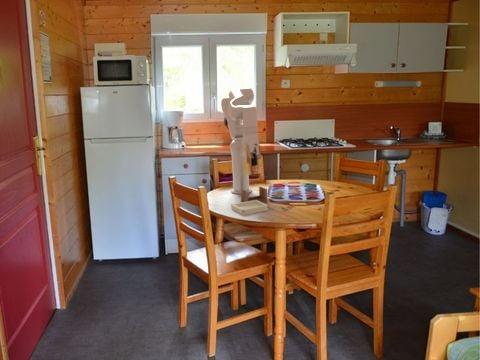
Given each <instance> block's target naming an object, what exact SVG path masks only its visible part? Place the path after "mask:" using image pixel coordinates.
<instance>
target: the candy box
mask: <svg viewBox="0 0 480 360" xmlns="http://www.w3.org/2000/svg"><path fill="white" fill-rule="evenodd" d="M242 147H243V162H244V174H245V175H249V176H250V175H257V174H262V173H263V172H262V171H263V169H262V168H263V167H262V156H261V155H262V154H261V153H262V151H261V144H259V154H258V156H257V165H255V166H252V165H251V158H252V155H251V153H249V152H248V146H242ZM253 152H255V151H253ZM253 155H254V153H253Z"/></svg>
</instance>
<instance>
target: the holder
mask: <svg viewBox="0 0 480 360" xmlns="http://www.w3.org/2000/svg"><path fill="white" fill-rule="evenodd" d="M258 191H259V192H258V194H259V195H254V196H250V197H249V193H248V192H246V191H244V190H241V194H240V203H241V202H247V201H252V200H258V201H260V202H262V203H266V202H268V188H265V187H262V186H259V187H258Z"/></svg>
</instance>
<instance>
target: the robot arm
mask: <svg viewBox="0 0 480 360" xmlns="http://www.w3.org/2000/svg"><path fill="white" fill-rule="evenodd" d="M254 99H255V93H254V91H253V89H252V88H251V87H236V88H235V87H234V88H232V89H230V91H229V92H228V96H224V97H222V99H221V101H220V104H221V106H220V107H221V111H222V113H223V116H224V117H225V119H226V121H227V126H228V132H229V136H230V139H232V141H231V142H230V144H229V150H230V155H231V164H232V188H231V190H230V192H231V193H232V194H235V195H237V194H238V195H241V190H244V191H246V192H248V194H249V193H252V191H253V189H252V188H251V187H250V178H249V177H250V175H245V174H244V162H243V147H242V146H248V152H249V153H251V155H252V158H251V165H252V166H255V165H257V156H258V154H259V145H260V142H259V135H258V133H259V132H258V131H259V130H258V129H259V128H258V110H257V107H256V106H255V105H252V104H253V102H254ZM253 151H255V152H253ZM253 153H254V155H253Z"/></svg>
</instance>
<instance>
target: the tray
mask: <svg viewBox="0 0 480 360" xmlns="http://www.w3.org/2000/svg"><path fill="white" fill-rule="evenodd" d="M230 206H231V207H230V208H231V210H232V211H234V212H236V213H238V214H240V215H241V216H246V215H251V214H255V213H256V214H257V213H261V212H266V211H270V207H269V204H266V202H263V203H262V202H260V201H258V200H252V201H247V202H241V201H240V202H236V203H231V204H230Z"/></svg>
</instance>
